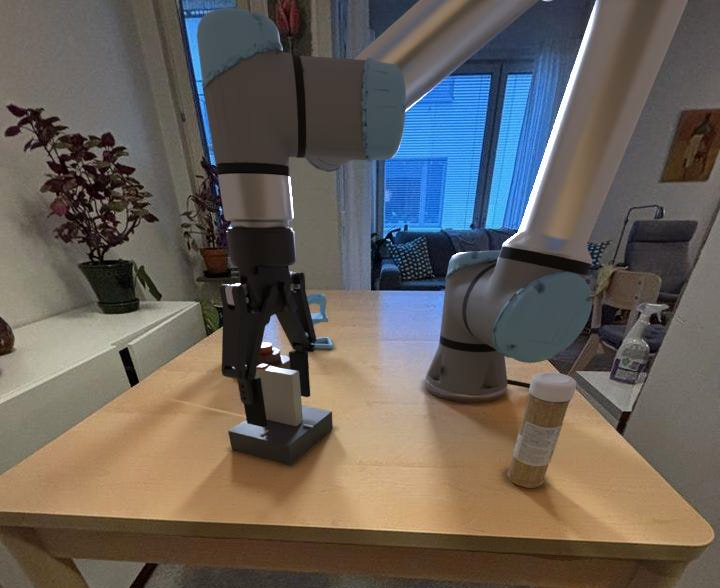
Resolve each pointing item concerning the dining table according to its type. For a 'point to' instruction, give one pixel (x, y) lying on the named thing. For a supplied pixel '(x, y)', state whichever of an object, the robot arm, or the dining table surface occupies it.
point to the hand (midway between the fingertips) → (281, 408)
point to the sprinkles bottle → (540, 427)
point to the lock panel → (282, 436)
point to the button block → (274, 360)
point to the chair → (319, 318)
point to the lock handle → (281, 394)
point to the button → (266, 348)
